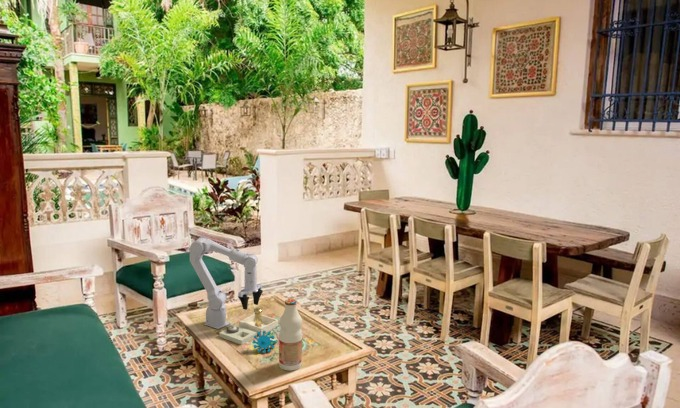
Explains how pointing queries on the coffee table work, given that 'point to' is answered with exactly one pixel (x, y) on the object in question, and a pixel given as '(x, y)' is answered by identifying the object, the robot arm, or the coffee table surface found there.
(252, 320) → the tray
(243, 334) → the block
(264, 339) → the gear
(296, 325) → the fruit juice
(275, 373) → the coffee table surface
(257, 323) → the pin
